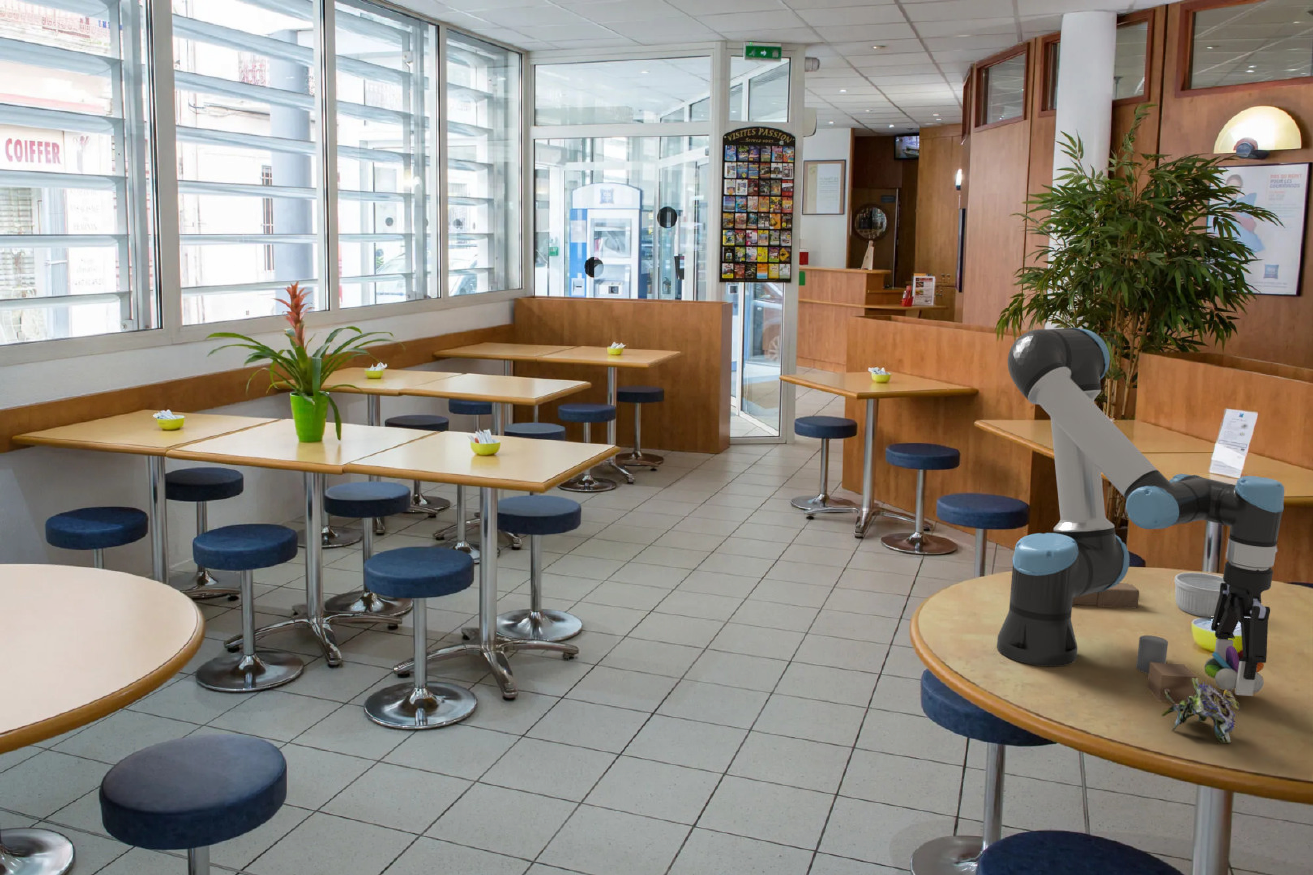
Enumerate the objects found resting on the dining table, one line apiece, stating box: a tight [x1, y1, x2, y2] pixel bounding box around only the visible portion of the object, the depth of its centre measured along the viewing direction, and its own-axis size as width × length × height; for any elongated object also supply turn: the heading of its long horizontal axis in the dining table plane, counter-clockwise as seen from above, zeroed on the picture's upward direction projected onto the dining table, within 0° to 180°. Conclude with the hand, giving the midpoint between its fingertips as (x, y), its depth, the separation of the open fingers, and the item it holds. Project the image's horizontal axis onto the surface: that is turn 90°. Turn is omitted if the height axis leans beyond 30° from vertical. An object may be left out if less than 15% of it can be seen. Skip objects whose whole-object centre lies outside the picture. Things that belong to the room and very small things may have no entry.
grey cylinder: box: [1136, 634, 1169, 675], centre depth 205 cm, size 5×5×6 cm
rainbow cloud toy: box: [1204, 645, 1265, 694], centre depth 192 cm, size 8×10×7 cm
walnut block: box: [1146, 662, 1198, 703], centre depth 193 cm, size 6×6×5 cm
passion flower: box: [1161, 677, 1241, 744], centre depth 178 cm, size 11×11×12 cm
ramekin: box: [1174, 572, 1225, 618], centre depth 241 cm, size 13×13×7 cm
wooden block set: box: [1072, 582, 1140, 609], centre depth 250 cm, size 17×6×18 cm
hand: (1231, 683), depth 193 cm, fingers closed on rainbow cloud toy, 9 cm apart
